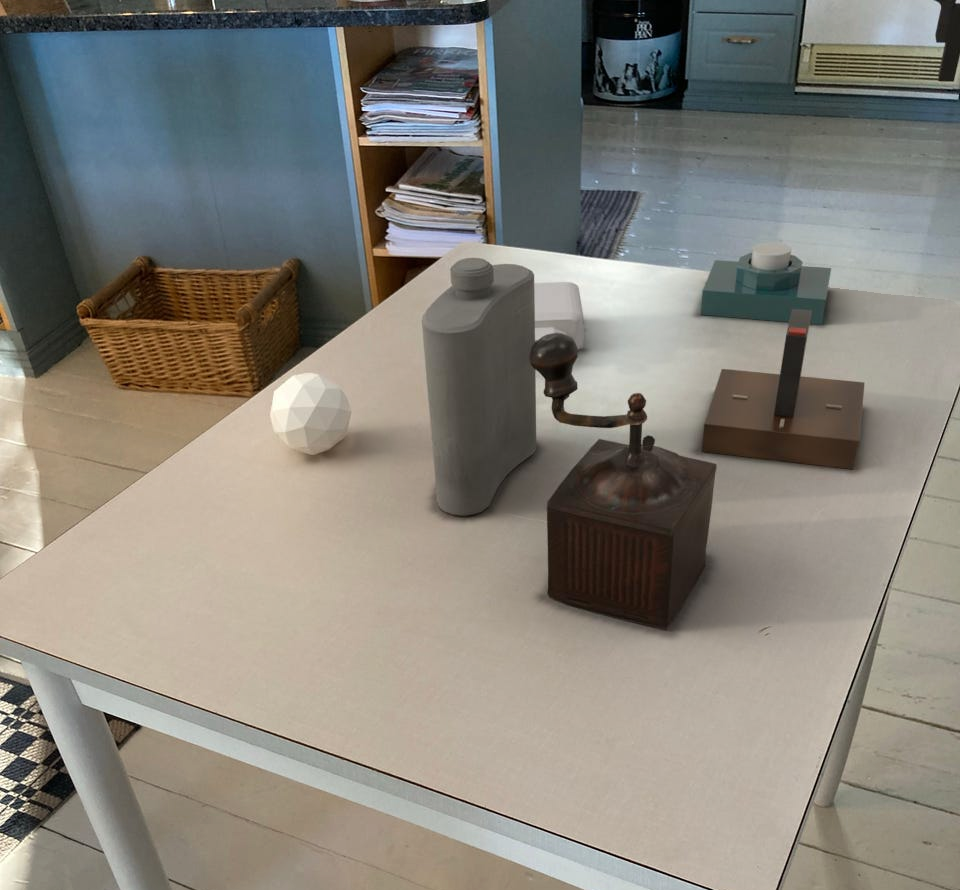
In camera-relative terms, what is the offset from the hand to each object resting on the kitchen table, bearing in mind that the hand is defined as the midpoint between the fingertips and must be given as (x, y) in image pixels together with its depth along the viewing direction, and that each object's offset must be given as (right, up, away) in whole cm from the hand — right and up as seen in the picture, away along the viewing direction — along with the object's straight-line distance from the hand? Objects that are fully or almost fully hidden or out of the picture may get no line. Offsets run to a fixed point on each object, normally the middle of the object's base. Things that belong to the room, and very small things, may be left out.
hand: (945, 78), depth 107 cm
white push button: (-14, -14, +15) cm, 25 cm away
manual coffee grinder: (-38, -53, -21) cm, 68 cm away
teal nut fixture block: (-14, -17, +18) cm, 29 cm away
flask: (-48, -43, -9) cm, 65 cm away
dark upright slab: (-19, -35, -7) cm, 41 cm away
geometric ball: (-65, -39, -4) cm, 76 cm away
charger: (-41, -25, +11) cm, 49 cm away
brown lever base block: (-19, -38, -5) cm, 42 cm away
